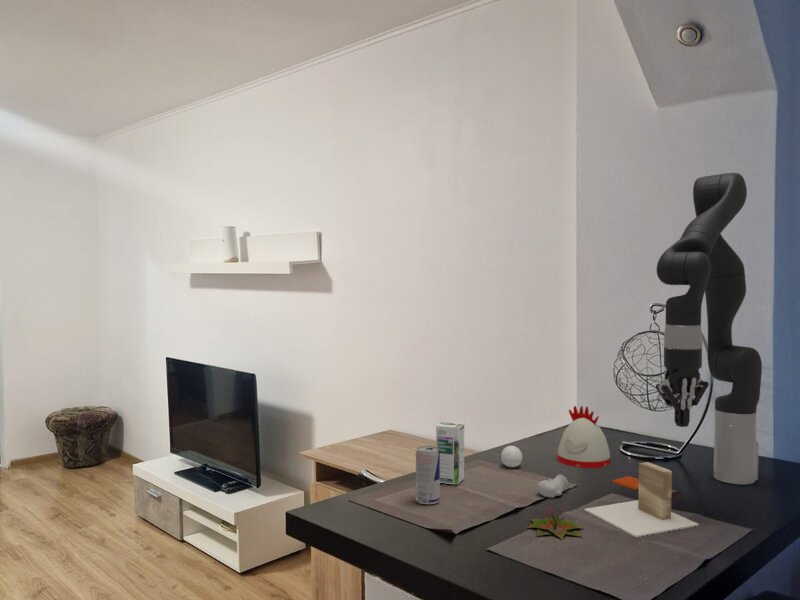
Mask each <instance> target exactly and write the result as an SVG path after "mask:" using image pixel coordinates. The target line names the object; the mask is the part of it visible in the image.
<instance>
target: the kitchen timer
mask: <svg viewBox="0 0 800 600" xmlns="http://www.w3.org/2000/svg"><path fill="white" fill-rule="evenodd" d="M568 413H569V415H570V418H571V420H572V421H571V422H570V423H569V424H568V426H567V427H566V428H565V430H564V431H562V436H561V439H560V442H559V445H558V449H557V461H558V462H559V463H561V464H562V465H566V466H570V467H575V468H581V469H582V468H583V469H596V468H597V469H598V468H604V467H607V466H609V465H610V464H611V452H610V448H609V444H608V441H607V438H606V436H605V434H604V432H603V430H602V429H601V427H600V426H599V425H598V424H597V422H598V419H599V417H600V416H598V415H597V416H596V418H595V419H593V416H594V411H591V412H590V413H589V406H586V407H585V409H584V407H583V405H580V407H579V411H578V408H577V405H574V406H573V410H571V409H568Z"/></svg>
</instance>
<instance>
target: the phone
mask: <svg viewBox="0 0 800 600" xmlns="http://www.w3.org/2000/svg"><path fill="white" fill-rule="evenodd" d="M611 483H612V484H615V485H618V486H620V487H624V488H626V489H630V490H633V491H637V492H638V488H639V478H637V477H633V476H630V475H628V476H627V475H626V476H624V477H619V478H615V479H613V480H612V482H611ZM681 495H682V492H681V491H680V490H676V489H673V488H672V489H671V499H672V498H675V497H679V496H681Z"/></svg>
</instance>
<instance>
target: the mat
mask: <svg viewBox="0 0 800 600" xmlns="http://www.w3.org/2000/svg"><path fill="white" fill-rule="evenodd" d="M583 510H584V512H586V513H588V514H590V515H592V516H593V517H595V518H598V519H599V520H601V521H602V522H603V521H604V522H605V523H607V524H609V525H610V526H613V527H615V528H617V529H619V530H620V531H622V532H624V533H626V534H628V535H630V536H632V537H633V538H635V537H636V539H637V538H642V536H643V537H647V535H648V536H652V534H654V535H657V534H664V533H669V532H668V531H670V532H674V531H673V530H675V531H680V530H685V529H690V528H695V526H696V527H699V526H700V524H699V523H698V522H695V521H693V520H691V519H688V518H686V517H684V516H681V515H679V514H677V513H675V512H673V511H671V519H666V520H660V519H658V518H656V517H654V516H652V515H650V514H648V513H645V512H643V511H641V510H639V509H638V500H636V499H635V500H632V501H631V500H629V501H626V502H624V501H623V502H619V503H617V502H616V503H612V504H607V505H606V504H605V505H600V506H594V507H593V506H592V507H588V508H584V509H583ZM679 529H680V530H679Z"/></svg>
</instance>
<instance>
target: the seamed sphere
mask: <svg viewBox="0 0 800 600" xmlns="http://www.w3.org/2000/svg"><path fill="white" fill-rule="evenodd" d="M496 455H498V456H500V457H501V459H500V460H501V461H502V463H503V464H504V465H505V466H506V467H508V468H512V469H513V468H516V467H518V466H519V465H520V464H521V463H522V461H523V453H522V451H521V449H519V447H517V446H514V445H507V446H506V447H504V448H503V449H502V451H501V454H499V453H498V454H497V453H496Z"/></svg>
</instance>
